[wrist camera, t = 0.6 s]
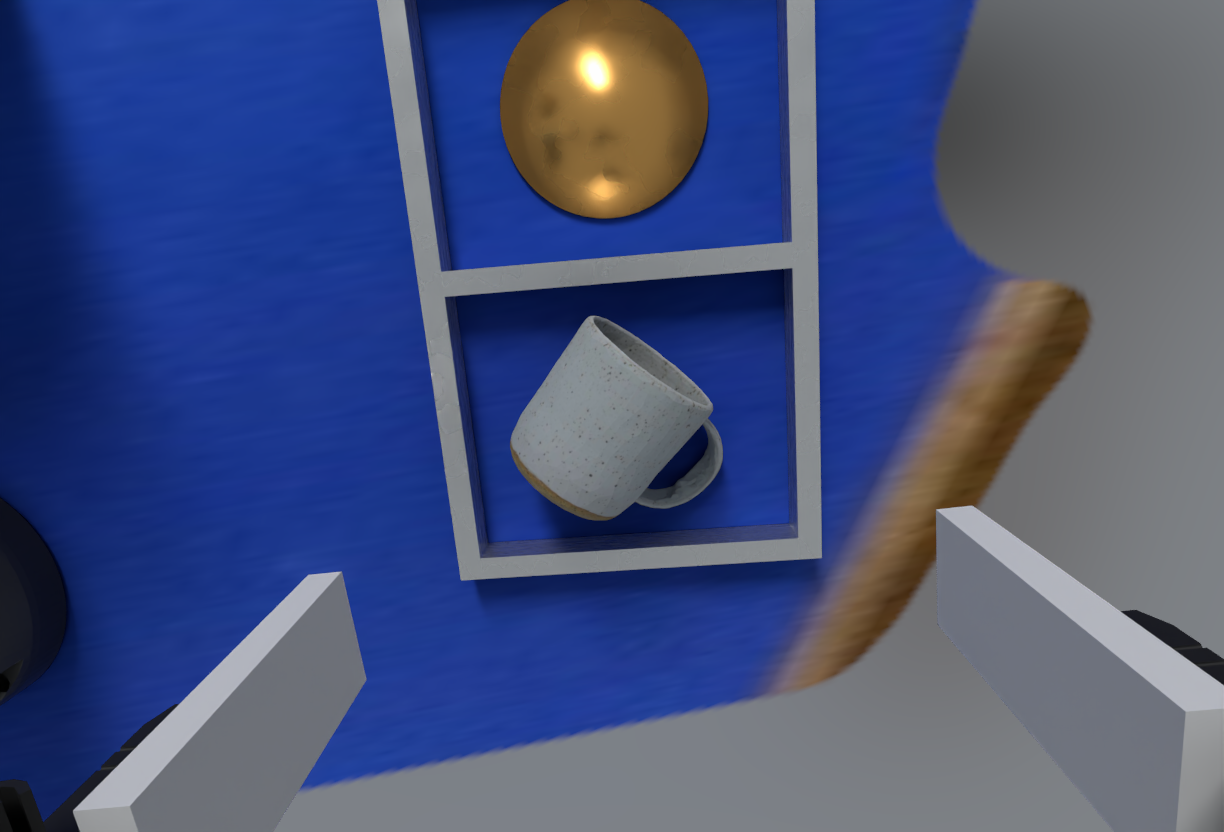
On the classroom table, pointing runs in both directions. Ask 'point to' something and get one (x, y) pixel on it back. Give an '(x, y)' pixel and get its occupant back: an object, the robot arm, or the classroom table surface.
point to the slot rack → (609, 188)
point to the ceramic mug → (612, 426)
